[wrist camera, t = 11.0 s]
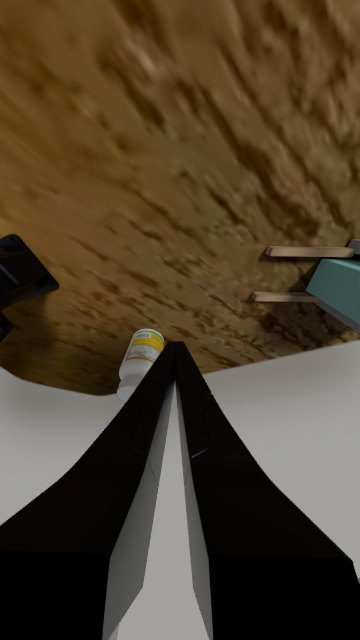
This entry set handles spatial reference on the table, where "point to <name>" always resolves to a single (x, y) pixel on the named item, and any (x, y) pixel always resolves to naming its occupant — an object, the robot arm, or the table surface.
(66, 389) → the table surface
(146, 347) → the supplement bottle
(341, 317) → the socket
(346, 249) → the track
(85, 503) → the robot arm
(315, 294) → the slider
